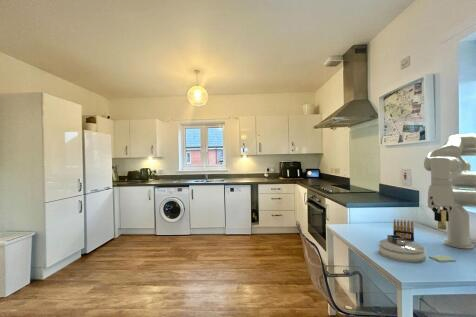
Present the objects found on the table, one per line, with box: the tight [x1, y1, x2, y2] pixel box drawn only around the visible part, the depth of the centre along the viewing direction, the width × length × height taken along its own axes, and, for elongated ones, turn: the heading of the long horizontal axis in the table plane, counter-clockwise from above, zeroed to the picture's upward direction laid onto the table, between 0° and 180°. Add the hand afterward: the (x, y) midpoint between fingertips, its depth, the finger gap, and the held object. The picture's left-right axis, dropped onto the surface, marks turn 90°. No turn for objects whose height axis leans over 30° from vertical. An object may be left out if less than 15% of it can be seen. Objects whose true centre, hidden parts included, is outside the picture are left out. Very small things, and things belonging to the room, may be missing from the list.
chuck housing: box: [378, 243, 427, 264], centre depth 132 cm, size 20×20×3 cm
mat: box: [429, 254, 457, 263], centre depth 126 cm, size 8×6×1 cm
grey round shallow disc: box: [379, 234, 425, 254], centre depth 132 cm, size 19×19×4 cm
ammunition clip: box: [392, 218, 415, 242], centre depth 158 cm, size 11×2×12 cm, turn 58°
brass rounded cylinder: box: [437, 208, 447, 231], centre depth 125 cm, size 3×3×9 cm
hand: (441, 220), depth 126 cm, fingers closed on brass rounded cylinder, 3 cm apart
